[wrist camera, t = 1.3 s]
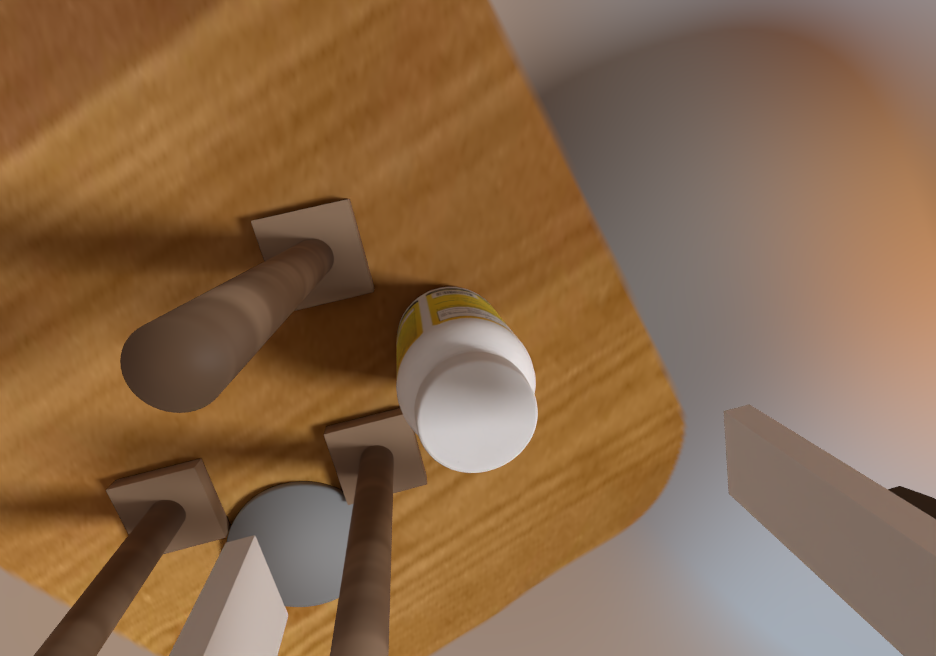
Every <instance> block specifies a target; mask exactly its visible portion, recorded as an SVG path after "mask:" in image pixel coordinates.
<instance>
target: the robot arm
mask: <svg viewBox="0 0 936 656" xmlns="http://www.w3.org/2000/svg"><path fill="white" fill-rule="evenodd" d="M724 423H725V439H726V456H727V472H728V489H729V494H730V495H731V496H732V497H733V498H734V499H735V500H736V501H737V502H739V503H740V504H741V505H742V506H743V507H744V508H745V509H746V510H747V511H748V512H749V513H750V514H751V515H752V516H754V517H755V518H756V519H757V520H758V521H759V522H760V523H761V524H762V525H763V526H764V527H765V528H767V529H768V530H769V531H770V532H771V533H772V534H773V535H774V536H775V537H776V538H777V539H779V541H781V542H782V543H783V544H784V545H785V546H786V547H787V548H788V549H789V550H790V551H791V552H792V553H794V554H795V555H796V556H797V557H798V558H799V559H800V560H801V561H802V562H803V563H804V564H805V565H806V566H807V567H809V568H810V569H811V570H812V571H813V572H814V573H815V574H816V575H817V576H818V577H819V578H820V579H822V580H823V581H824V582H825V583H826V584H827V585H828V586H829V587H830V588H831V589H832V590H833V591H834V592H836V593H837V594H838V595H839V596H840V597H841V598H842V599H843V600H844V601H845V602H846V603H848V605H850V606H851V607H852V608H853V609H854V610H855V611H856V612H857V613H858V614H859V615H860V616H861V617H863V618H864V619H865V620H866V621H867V622H868V623H869V624H870V625H871V626H872V627H873V628H874V629H875V630H877V631H878V632H879V633H880V634H881V635H882V636H883V637H884V638H885V639H886V640H887V641H889V642H890V643H891V644H892V645H893V646H894V647H895V648H896V649H897V650H898V651H899V652H900V653H901V654H902V655H903V656H936V499H934V498H932V497H929V496H927V495H924V494H921V493H918V492H915V491H912V490H910V489H907V488H904V487H901V486H898V487H895V488H891V489H888V490H887V489H886V488H884V487H882V486H881V485H879V484H878V483H876V482H874V481H873V480H871V479H869V478H868V477H866V476H865V475H863V474H861V473H860V472H858V471H856V470H855V469H853V468H852V467H850V466H848V465H847V464H845V463H843V462H842V461H840V460H838V459H837V458H835V457H834V456H832V455H831V454H829V453H827V452H826V451H824V450H822V449H821V448H819V447H818V446H816V445H814V444H812V443H811V442H809V441H808V440H806V439H805V438H803V437H801V436H800V435H798V434H796V433H795V432H793V431H792V430H790V429H788V428H787V427H785V426H783V425H782V424H780V423H779V422H777V421H775V420H774V419H772V418H770V417H769V416H767V415H765V414H764V413H762V412H761V411H759V410H757V409H756V408H754V407H752V406H751V405H745V406H742V407H738V408H734V409H730V410H726V411H724ZM287 618H288V613H287V611H286V608H285V606H284V604H283V601H282V599H281V596H280V594H279V592H278V589H277V587H276V584H275V582H274V579H273V577H272V575H271V572H270V570H269V567H268V565H267V563H266V560H265V558H264V555H263V553H262V551H261V548H260V546H259V543H258V541H257V538H256V536H255V535H253V536H249V537H246V538H242V539H238V540H234V541H230V542H227V543H225V545H224V547H223V549H222V551H221V553H220V555H219V557H218V559H217V561H216V563H215V565H214V567H213V569H212V571H211V573H210V575H209V577H208V579H207V581H206V583H205V585H204V587H203V589H202V591H201V593H200V595H199V597H198V599H197V601H196V603H195V605H194V607H193V609H192V611H191V613H190V615H189V617H188V619H187V621H186V623H185V625H184V627H183V629H182V631H181V633H180V635H179V637H178V639H177V641H176V643H175V645H174V647H173V649H172V651H171V653H170V655H169V656H277V655H278V652H279V648H280V644H281V640H282V637H283V633H284V629H285V625H286V622H287Z"/></svg>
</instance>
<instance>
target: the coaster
mask: <svg viewBox="0 0 936 656" xmlns="http://www.w3.org/2000/svg"><path fill="white" fill-rule="evenodd" d="M352 509H353V504H351V505H348V504H347V501H346V498H345V495H344V493H343V491H342V490H340V489H338V488H335V487H333V486H330V485H327V484H323V483H317V482H307V481H299V482H289V483H284V484H280V485H277V486H274V487H271V488H269V489H267V490H265V491H263V492H261V493H259V494H258V495H256V496H255V497H253V498H252V499H251V500H250V501H248V502H247V504H246V505H245V506H244V507H243V508H242V509H241V510H240V512H239V513H238V515H237V516H236V518H235V520H234V522H233V524H232V526H231V528H230V531H229V534H228V538H227V542H230V541H234V540H238V539H242V538H246V537H249V536H253V535H255V536H256V538H257V541H258V543H259V546H260V548H261V551H262V553H263V555H264V558H265V560H266V563H267V565H268V567H269V570H270V572H271V575H272V577H273V579H274V582H275V584H276V587H277V589H278V592H279V594H280V596H281V599H282V601H283V604H284V606H291V607H307V606H315V605H320V604H324V603H327V602H330V601H332V600H335V599H337V598H339V594H340V587H341V581H342V574H343V568H344V561H345V555H346V548H347V542H348V535H349V529H350V522H351V516H352Z"/></svg>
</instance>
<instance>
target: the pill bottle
mask: <svg viewBox="0 0 936 656" xmlns="http://www.w3.org/2000/svg"><path fill="white" fill-rule="evenodd" d="M396 346H397V355H396V357H397V374H396V388H397V397H398V402H399V405H400V408H401V411H402V413H403V416H404V418H405V420H406V421H407V423H408V424H409V426H410V427H411V428H412V430H413V431H414V432H415V433H416V434H417V435H418V436H419V438H420V441H421V443H422V445H423V446H424V448H425V449H426V451H427V452H428V453H429V454H430V455H431V456H432V457H433V458H434V459H435V460H436V461H437V462H438V463H440V464H442V465H443V466H445V467H447V468H450V469H452V470H455V471H460V472H467V473H479V472H485V471H489V470H493V469H496V468H498V467H501V466H503V465H505V464H506V463H508V462H510V461H511V460H512V459H514V458H515V457H516V456H517V455H519V454H520V453H521V452H522V450H523V449H524V448H525V447H526V445H527V444H528V443H529V441H530V439H531V437H532V436H533V433H534V431H535V427H536V423H537V414H538V412H537V402H536V398H535V395H534V394H535V385H536V381H535V372H534V369H533V365H532V361H531V359H530V356H529V354H528V352H527V350H526V349H525V347H524V345H523V344H522V343H521V341H520V340H519V339H518V338H517V337H516V335H515V334H514V333H513V332H512V331H511V330H510V328H509V327H508V326H507V325H506V323H505V322H504V321H503V320H502V318H501V317H500V316H499V315H498V313H497V312H496V311H495V310H494V309H493V307H492V306H491V305H490V304H489V303H488V302H487V301H486V300H485V299H484V298H482V297H481V296H480V295H478V294H476V293H474V292H472V291H470V290H467V289H464V288H458V287H443V288H438V289H434V290H431V291H429V292H427V293H425V294H423V295H421V296H420V297H418V298H417V299H416V300H415V301H413V302H412V304H411V305H410V306H409V307H408V308H407V309H406V311H405V312H404V314H403V316H402V318H401V320H400V323H399V326H398V331H397V344H396Z"/></svg>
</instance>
